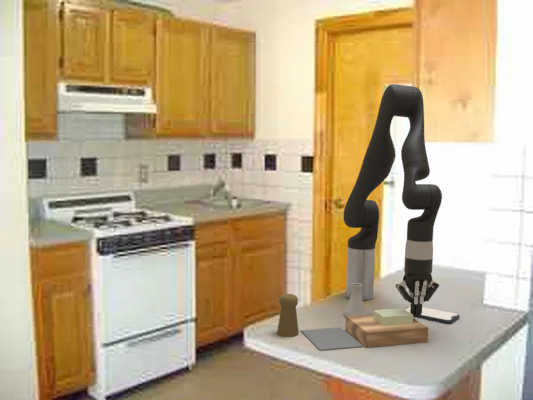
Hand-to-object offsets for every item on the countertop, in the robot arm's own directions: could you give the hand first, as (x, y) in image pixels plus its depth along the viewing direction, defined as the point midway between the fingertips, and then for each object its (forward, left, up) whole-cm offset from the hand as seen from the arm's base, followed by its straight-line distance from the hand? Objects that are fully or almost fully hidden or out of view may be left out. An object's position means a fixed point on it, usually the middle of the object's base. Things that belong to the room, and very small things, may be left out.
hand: (415, 316), depth 166 cm
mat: (-1, -25, -5) cm, 26 cm away
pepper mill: (-8, -35, -5) cm, 36 cm away
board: (0, -9, -5) cm, 10 cm away
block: (0, -7, 0) cm, 7 cm away
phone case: (-13, +13, -6) cm, 19 cm away
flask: (-18, -10, -5) cm, 21 cm away
